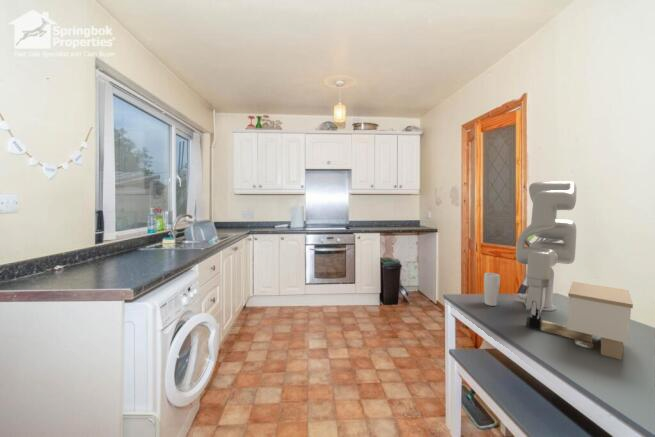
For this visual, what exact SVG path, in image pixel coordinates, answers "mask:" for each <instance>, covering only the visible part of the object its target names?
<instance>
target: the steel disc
mask: <svg viewBox="0 0 655 437" xmlns="http://www.w3.org/2000/svg"><path fill="white" fill-rule="evenodd" d="M574 344H576V345H577V346H578V345H579V346H578V347H581V348H585V349H593V348H594V344H593V342H592V343H591V342H589V341H586V340H583V339H574Z"/></svg>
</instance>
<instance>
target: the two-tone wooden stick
mask: <svg viewBox="0 0 655 437" xmlns="http://www.w3.org/2000/svg"><path fill="white" fill-rule="evenodd" d="M525 323H526V324H525V327H526V328H531V329H534V330H537V331H542V332H546V333H550V334H554V335H559V336H561V337H566V338H570V339H574V340H575V339H583V340H586V341H589V342H591V343H593V335H590V334H586V333H582V332H577V331H573V330H569V329H567V325H565V324H560V323H555V322H551V321H548V320H543V319H541V320H540V327H539V329H536V328H532V327H530V316H527V317H526V322H525Z"/></svg>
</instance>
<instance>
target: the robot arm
mask: <svg viewBox="0 0 655 437" xmlns="http://www.w3.org/2000/svg"><path fill="white" fill-rule="evenodd" d="M528 193H529V197H530V200H531V203H532V210H531V220H530V221H531V223H530V224H529V225H528V226H526V227H525V228H524V229H523V230H522V231H521V233H520V234H519V235H518V238H517V240H516V241H517V242H516V247H515V248H516V249H515V258H516V262H518V263H519V264H521V265H526V282H525V283H526V285H527V286H528V288H527V289H528V290H527V293H526V294H523V293H518V294H517V298H519V299H520V300H523V301H524V302H523V305H525V309H526V311H530V316H529V317H530V327H532V328H531V329H534V328H536V329H535V330H538V329H539V327H540V320H542V317H541V316H542V315H541V314H542V311H545V312H546V311H547V312H551V311H556V310H557V306H556V305H555V304H553V296H554V295H553V294H554V280H555V272H554V269H553V267H554V266H556V264H562V265H563V264H564V265H570V264H573V263H574V261H575V258H576V247H577V225H576V223H575V221H573V220H570V219H562V218H561V219H558V218H557V216H558V211H572V210H573V209H575V206H576V202H577V185H576V183H575V182H574V181H570V180H567V181H566V180H564V181H563V180H561V181H560V180H559V181H554V180H553V181H536V182H532V183H530V184H529V187H528ZM533 235H534V236H535V237H536V238H539V239H546V240H559V241H562V242H556V241H543V240H542V241H541V240H539V241H538V240H537V241H533V242H530V244H529V246H525V245H526V244H525V243H526V241H527V239H528V238H530V237H531V236H533ZM530 327H529V328H530Z"/></svg>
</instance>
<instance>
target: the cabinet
mask: <svg viewBox="0 0 655 437" xmlns="http://www.w3.org/2000/svg"><path fill="white" fill-rule="evenodd" d="M567 297H569V299H568V313H567V325H566V326H567V329H569V330H573V331H577V332H582V333H586V334H590V335H592V336H595V337H599V338H600V355H602V356H606V357H610V358H613V359H617V360H623V349H624V347H623V346H624V343H625V344H629V336H630V326H631V325H630V324H631V313H632V309H633V307H634V304H633V300H632V298H631V294H630V291H629V289H623V288H616V287H611V286H610V287H609V286H604V285H598V284H597V285H596V284H590V283H584V282H578V281H572V283H571V286H570V288H569V291H568V296H567Z"/></svg>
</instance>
